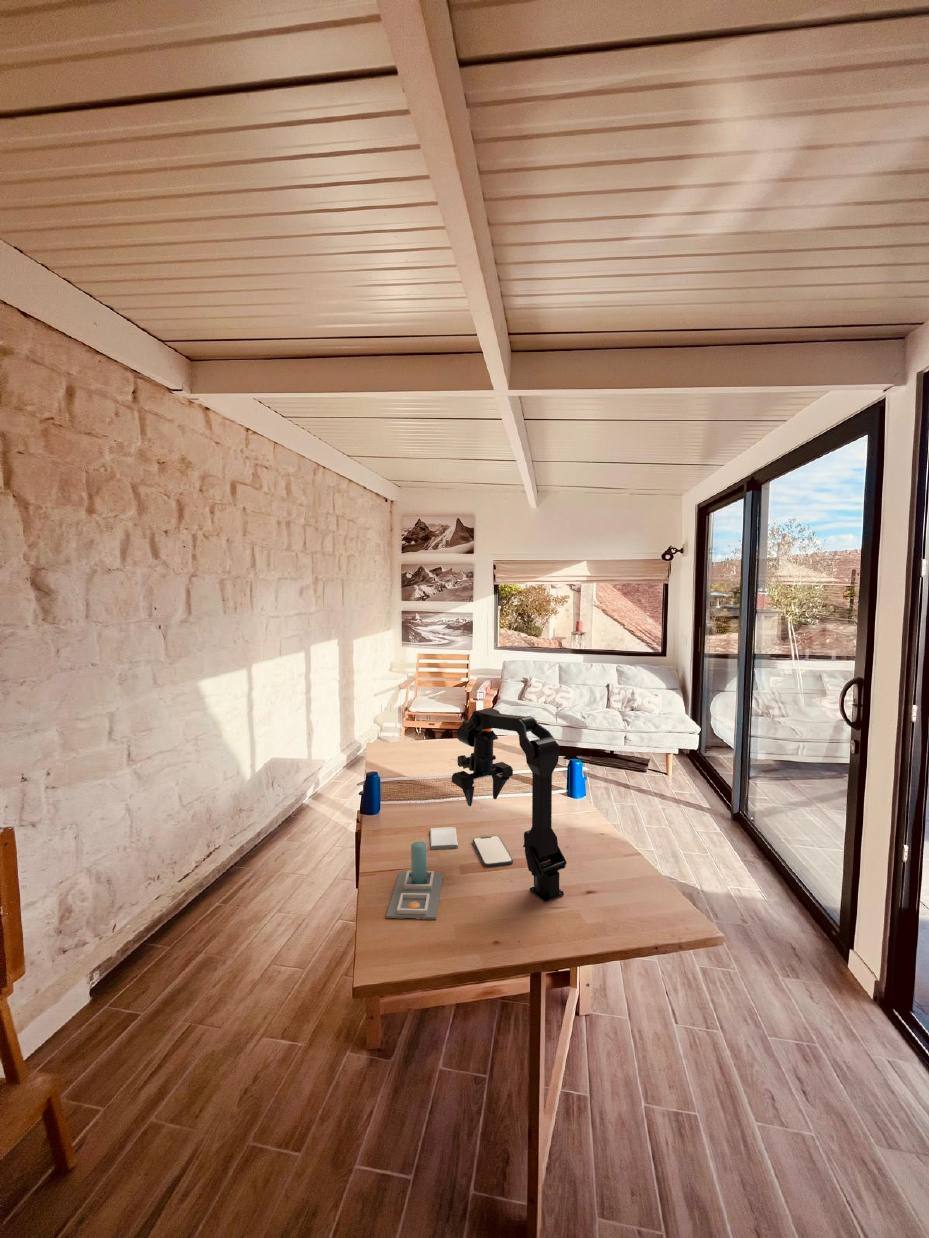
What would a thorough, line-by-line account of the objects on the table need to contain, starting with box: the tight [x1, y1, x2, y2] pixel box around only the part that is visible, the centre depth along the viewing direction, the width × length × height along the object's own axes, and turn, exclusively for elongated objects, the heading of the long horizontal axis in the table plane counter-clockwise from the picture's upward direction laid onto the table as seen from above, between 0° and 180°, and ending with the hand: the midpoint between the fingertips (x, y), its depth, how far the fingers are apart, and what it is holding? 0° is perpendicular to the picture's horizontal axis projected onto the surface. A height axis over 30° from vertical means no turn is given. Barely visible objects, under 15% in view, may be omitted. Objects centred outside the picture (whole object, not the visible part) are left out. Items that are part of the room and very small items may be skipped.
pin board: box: [385, 870, 444, 920], centre depth 143 cm, size 20×12×2 cm, turn 178°
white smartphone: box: [472, 835, 514, 868], centre depth 165 cm, size 9×2×16 cm
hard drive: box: [429, 826, 459, 850], centre depth 174 cm, size 2×8×12 cm
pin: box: [410, 841, 428, 884], centre depth 148 cm, size 4×4×10 cm
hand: (482, 802), depth 166 cm, fingers open, 9 cm apart
